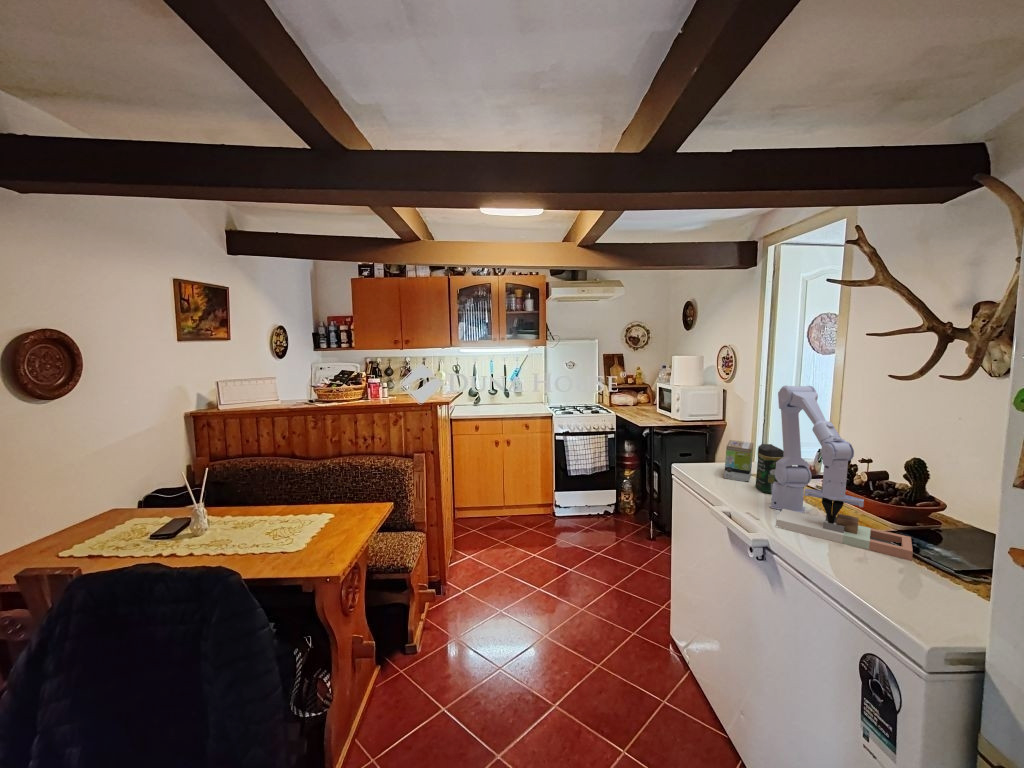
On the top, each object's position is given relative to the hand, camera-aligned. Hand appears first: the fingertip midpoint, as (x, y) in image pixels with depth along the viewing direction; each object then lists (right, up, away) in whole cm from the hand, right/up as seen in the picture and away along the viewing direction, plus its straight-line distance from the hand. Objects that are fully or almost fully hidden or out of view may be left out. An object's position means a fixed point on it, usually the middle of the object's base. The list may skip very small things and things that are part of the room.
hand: (831, 523), depth 132 cm
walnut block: (+3, -1, -2) cm, 4 cm away
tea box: (+2, +2, +58) cm, 58 cm away
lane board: (+2, -3, -1) cm, 4 cm away
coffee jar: (+4, 0, +39) cm, 39 cm away
